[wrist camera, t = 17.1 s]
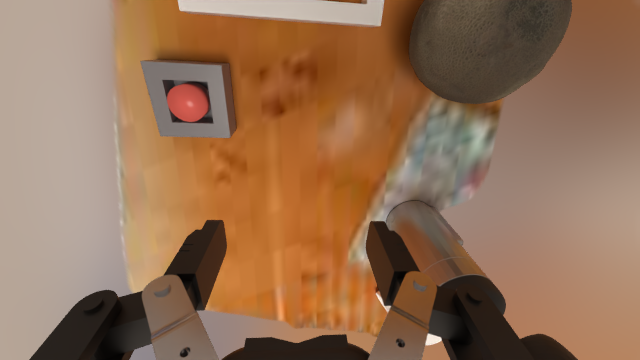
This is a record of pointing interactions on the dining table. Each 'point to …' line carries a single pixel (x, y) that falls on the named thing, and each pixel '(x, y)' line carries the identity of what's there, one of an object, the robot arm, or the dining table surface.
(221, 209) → the dining table surface
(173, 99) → the button
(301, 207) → the dining table surface
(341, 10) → the window frame
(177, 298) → the robot arm
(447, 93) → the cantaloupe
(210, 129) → the button housing
